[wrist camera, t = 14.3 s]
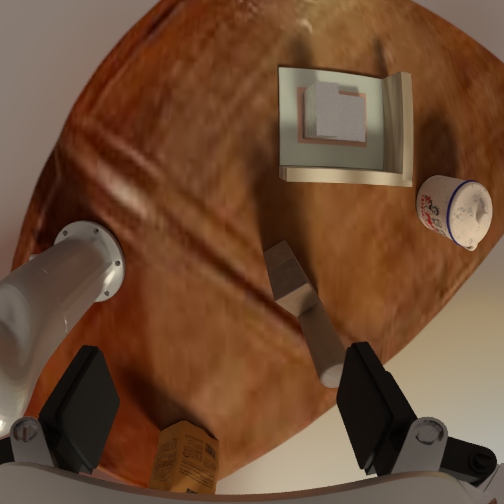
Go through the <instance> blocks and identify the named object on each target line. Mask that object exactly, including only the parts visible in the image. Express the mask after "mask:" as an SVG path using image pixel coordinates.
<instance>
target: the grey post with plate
mask: <svg viewBox="0 0 504 504" xmlns="http://www.w3.org/2000/svg"><path fill="white" fill-rule="evenodd" d="M263 255H264V259H265V263H266V267H267V271H268V276H269V280H270V284H271V288H272V292H273V296H274V300H275V302H276V303H277V304H279V305H280V306H282V307H283V308H285V309H286V310H287V311H289V312H290V313H292V314H293V315H294V316H296V317H297V316H298V319H299V322H300V325H301V328H302V330H303V333H304V336H305V339H306V342H307V345H308V348H309V351H310V354H311V356H312V359H313V362H314V365H315V368H316V371H317V374H318V377H319V380H320V382H321V383H322V384H323V385H324V386H326V387H329V388H335V387H339V384H340V379H341V375H342V370H343V365H344V361H345V356H346V350H345V348H344V346H343V344H342V342H341V340H340V338H339V336H338V334H337V332H336V330H335V328H334V327H333V325H332V323H331V321H330V319H329V317H328V315H327V313H326V311H325V309H324V306H323V304H322V302H321V300H320V298H319V296H318V295H317V293H316V291H315V289H314V288H313V286H312V284H311V282H310V281H309V279H308V277H307V276H306V274H305V272H304V270H303V269H302V267H301V265H300V264H299V262H298V260H297V258H296V257H295V255H294V253H293V252H292V250H291V248H290V247H289V245H288V243H287V242H286V241H285V240H284V241H281V242H280V243H278V244H276V245H275V246H273V247H271V248H270V249H268V250H266V251H264V253H263Z"/></svg>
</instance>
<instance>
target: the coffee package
mask: <svg viewBox="0 0 504 504" xmlns="http://www.w3.org/2000/svg"><path fill="white" fill-rule="evenodd" d="M218 455H219V441H217V440H215V439H213V438H211V437H209V435H208V434H207V433H206V432H205V431H204V430H203V429H202V428H200V427H198V426H195V425H193V424H191V423H189V422H188V421H186V420H183V421H180V422H178V423H176V424H173V425H171V426H169V427H167V428H166V429H164V430H163V431H162V432H160V436H159V442H158V447H157V453H156V456H155V460H154V463H153V468H152V474H151V477H150V481H149V487H150V489H154V490H162V491H171V492H181V493H194V494H215V490H216V483H217V477H218V470H219V461H218Z"/></svg>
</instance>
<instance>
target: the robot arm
mask: <svg viewBox="0 0 504 504" xmlns="http://www.w3.org/2000/svg"><path fill="white" fill-rule="evenodd" d="M97 229H98V230H97ZM119 261H120V262H119ZM124 276H125V259H124V255H123V252H122V249H121V247H120V245H119V243H118V242H117V240H116V239H115V237H114V236H113V235H112V234H111V233H110V232H109V231H108V230H107V229H106V228H104V227H103V226H102V225H100V224H98V223H96V222H92V221H88V220H80V221H75V222H73V223H71V224H69V225H67V226H66V227H64V228H63V229H62V230H61V231H60V232H59V234H58V236H57V237H56V240H55V242H54V246H52V247H50V248H49V249H47V250H45V251H44V252H42V253H41V254H32V255H31V256H30V259H29V261H28V262H27V263H25V264H23V265H22V266H20V267H19V268H17V269H16V270H14V271H13V272H11V273H10V274H8V275H7V276H5V278H3V279H2V280H1V281H0V437H2V436H4V435H6V434H8V433H9V432H10V437H7V438H4V439H2V440H0V504H504V463H501V464H500V465H499V464H497V459H496V456H495V454H494V453H493V452H492V451H491V450H490V449H488V448H486V447H483V446H479V445H476V444H472V443H468V442H465V441H462V440H459V439H455V438H452V437H449V436H448V431H447V428H446V426H445V425H444V423H443V422H441V421H440V420H438V419H435V418H433V417H422V418H419V419H418V418H417V416H416V415H415V413H414V411H413V410H412V408H411V406H410V404H409V403H408V401H407V400H406V398H405V396H404V394H403V393H402V391H401V389H400V388H399V386H398V385H397V383H396V381H395V380H394V378H393V376H392V375H391V373H390V372H388V371H385V369H384V367H383V366H382V364H381V362H380V361H379V359H378V357H377V356H376V354H375V353H374V351H373V349H372V348H371V346H370V345H369V343H368V342H358V343H353V344H352V345H351V347H348V348H347V351H346V356H345V361H344V365H343V370H342V375H341V379H340V384H339V388H338V392H337V397H336V401H337V406H338V408H339V411H340V413H341V416H342V419H343V422H344V425H345V428H346V430H347V433H348V436H349V439H350V442H351V444H352V448H353V450H354V453H355V456H356V459H357V462H358V465H359V467H360V469H364V470H365V472H366V475H371V474H375V473H377V476H378V477H374V478H369V479H364V480H360V481H355V482H350V483H345V484H340V485H334V486H328V487H322V488H315V489H308V490H300V491H292V492H282V493H270V494H269V493H268V494H248V495H247V494H246V495H216V494H194V493H181V492H171V491H162V490H154V489H147V488H140V487H134V486H129V485H124V484H118V483H114V482H109V481H105V480H100V479H96V478H92V477H88V476H84V475H80V474H79V471H80V472H84V473H87V474H92V471H93V468H94V469H95V468H97V466H98V463H99V460H100V458H101V455H102V452H103V449H104V446H105V443H106V440H107V438H108V435H109V432H110V429H111V427H112V424H113V421H114V419H115V416H116V413H117V411H118V408H119V405H120V400H119V396H118V394H117V391H116V389H115V386H114V383H113V381H112V378H111V375H110V373H109V370H108V367H107V364H106V361H105V358H104V355H103V353H102V351H101V350H99V349H98V347H96V346H88V345H83V346H82V347H81V349H80V350H79V352H78V353H77V354H76V356H75V357H74V359H73V360H72V362H71V364H70V365H69V367H68V368H67V370H66V371H65V373H64V374H63V376H62V377H61V379H60V380H59V382H58V384H57V385H56V387H55V388H54V390H53V392H52V393H51V395H50V397H49V398H48V400H47V401H46V403H45V405H44V406H43V408H42V410H41V411H40V413H39V418H38V420H37V419H35V418H33V417H23V415H24V413H25V411H26V409H27V407H28V404H29V401H30V399H31V396H32V393H33V390H34V387H35V385H36V382H37V380H38V377H39V375H40V373H41V371H42V369H43V368H44V366H45V364H46V363H47V361H48V360H49V358H50V357H51V355H52V354H53V353H54V351H55V350H56V348H57V347H58V346H59V345H60V343H61V342H62V341H63V340H64V338H65V337H66V336H67V334H68V333H69V332H70V331H71V329H72V328H73V327H74V326H75V324H76V323H77V322H78V321H79V320H80V318H81V317H82V316H83V315H84V313H85V312H86V311H87V310H88V309H89V307H90V306H91V305H92V304H93V303H94V302H100V301H104V300H107V299H108V298H110V297H112V296H113V295H114V294H115V293H116V292H117V291H118V289H119V288H120V286H121V284H122V282H123V279H124Z"/></svg>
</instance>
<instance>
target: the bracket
mask: <svg viewBox="0 0 504 504" xmlns="http://www.w3.org/2000/svg"><path fill="white" fill-rule="evenodd" d="M302 127H303V138H310V139H328V140H342V141H354V142H365V98H364V97H357V96H350V95H342V94H339V92H338V83H329V82H320V81H315V82H314V83H313V84H312V85H311V86H310V87H308V88H307V89H306V90H305V91H304V92H303V93H302Z"/></svg>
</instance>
